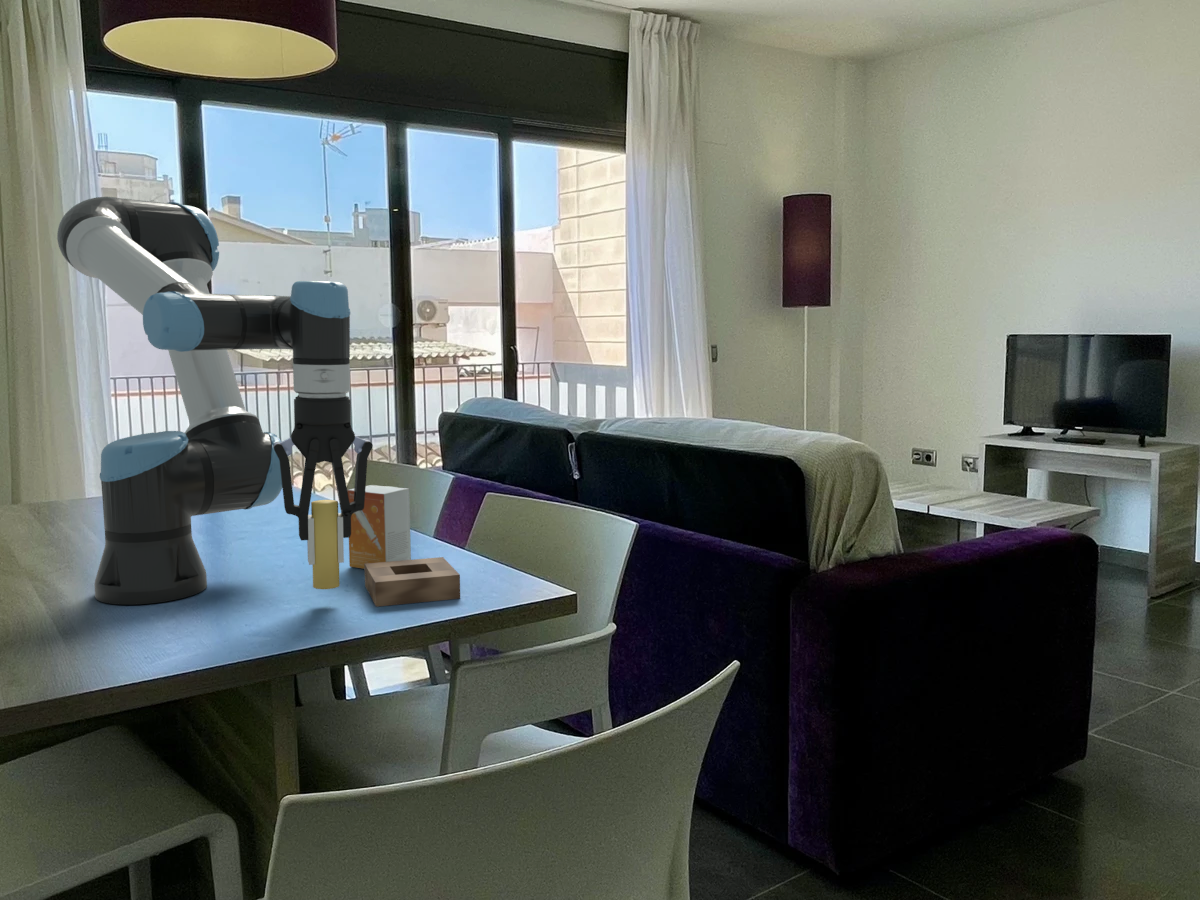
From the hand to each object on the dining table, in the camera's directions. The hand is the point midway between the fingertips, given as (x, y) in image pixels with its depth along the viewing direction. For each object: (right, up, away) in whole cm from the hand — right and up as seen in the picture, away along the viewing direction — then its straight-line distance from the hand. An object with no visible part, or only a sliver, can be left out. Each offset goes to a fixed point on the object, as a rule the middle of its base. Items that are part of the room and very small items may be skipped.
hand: (325, 560), depth 137 cm
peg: (0, -4, 0) cm, 4 cm away
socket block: (+11, -5, +7) cm, 14 cm away
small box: (+2, -4, +23) cm, 24 cm away
